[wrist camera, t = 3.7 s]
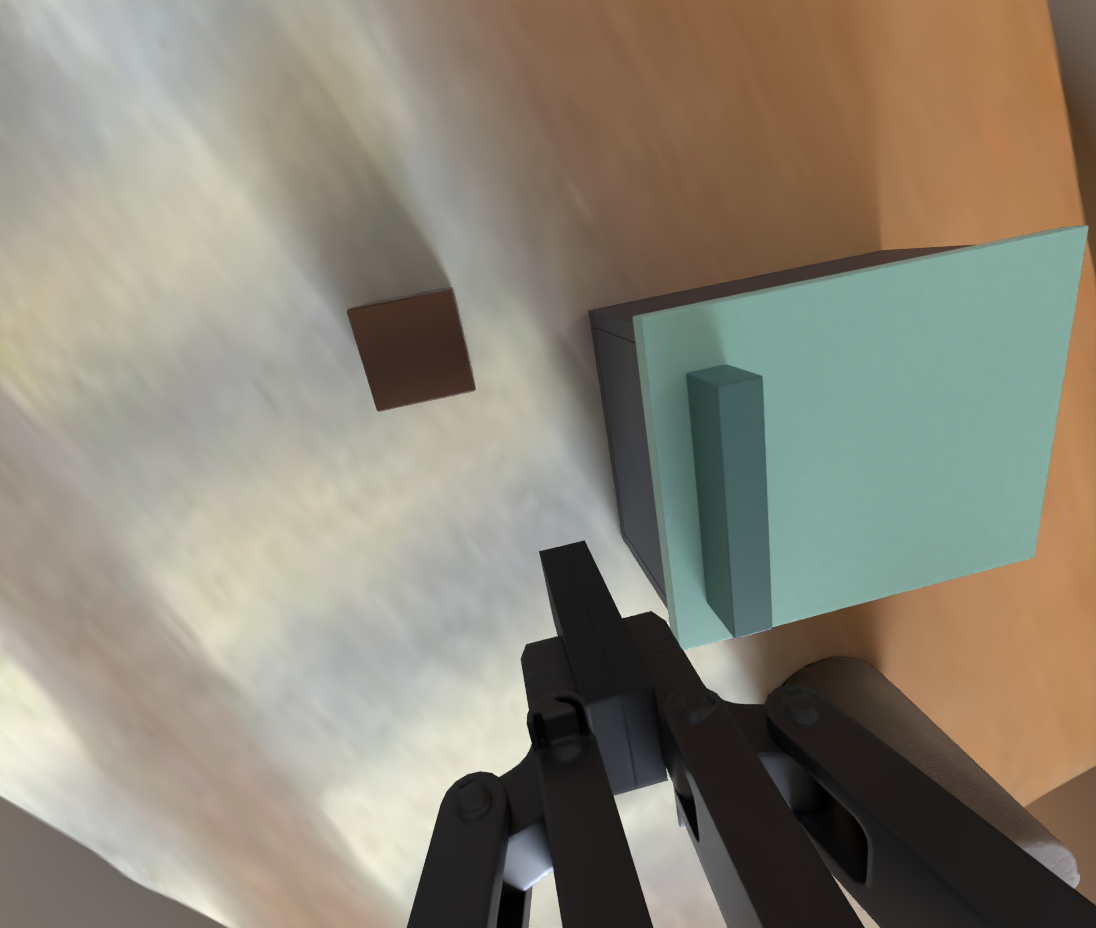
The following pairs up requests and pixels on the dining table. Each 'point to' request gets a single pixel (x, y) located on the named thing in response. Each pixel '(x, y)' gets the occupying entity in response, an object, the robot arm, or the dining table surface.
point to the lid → (855, 431)
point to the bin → (626, 396)
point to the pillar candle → (933, 754)
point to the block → (413, 348)
